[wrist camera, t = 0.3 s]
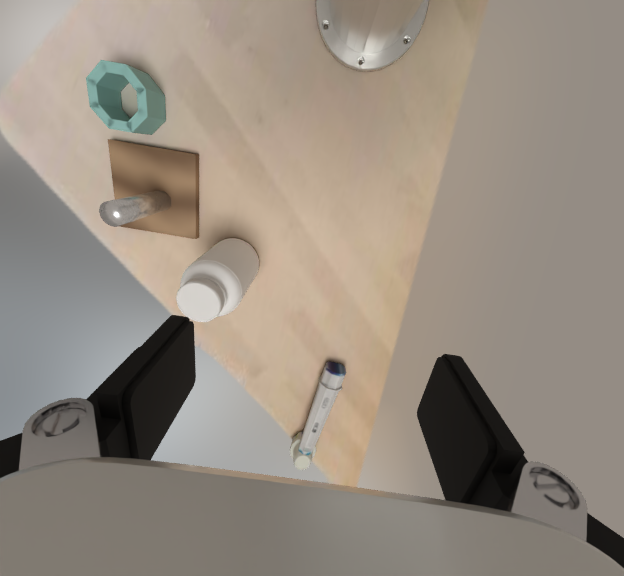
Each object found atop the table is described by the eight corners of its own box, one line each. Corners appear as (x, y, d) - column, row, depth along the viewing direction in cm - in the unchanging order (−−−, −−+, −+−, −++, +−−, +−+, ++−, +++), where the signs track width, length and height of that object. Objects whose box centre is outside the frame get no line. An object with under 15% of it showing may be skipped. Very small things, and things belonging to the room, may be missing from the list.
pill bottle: (201, 253, 48) (150, 293, 34) (239, 227, 46) (202, 258, 32) (232, 291, 50) (196, 342, 37) (270, 268, 48) (247, 313, 35)
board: (113, 139, 41) (107, 139, 40) (198, 154, 42) (195, 154, 41) (122, 224, 46) (117, 226, 45) (199, 237, 47) (195, 239, 46)
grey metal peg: (151, 188, 43) (97, 199, 33) (170, 192, 43) (122, 203, 33) (152, 208, 44) (101, 224, 34) (171, 211, 44) (125, 228, 34)
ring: (109, 67, 38) (83, 56, 34) (164, 77, 38) (144, 67, 34) (116, 128, 41) (92, 125, 37) (166, 137, 41) (148, 135, 37)
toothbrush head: (351, 377, 52) (310, 482, 59) (347, 358, 58) (310, 454, 65) (322, 370, 52) (285, 476, 59) (321, 351, 58) (287, 448, 65)
